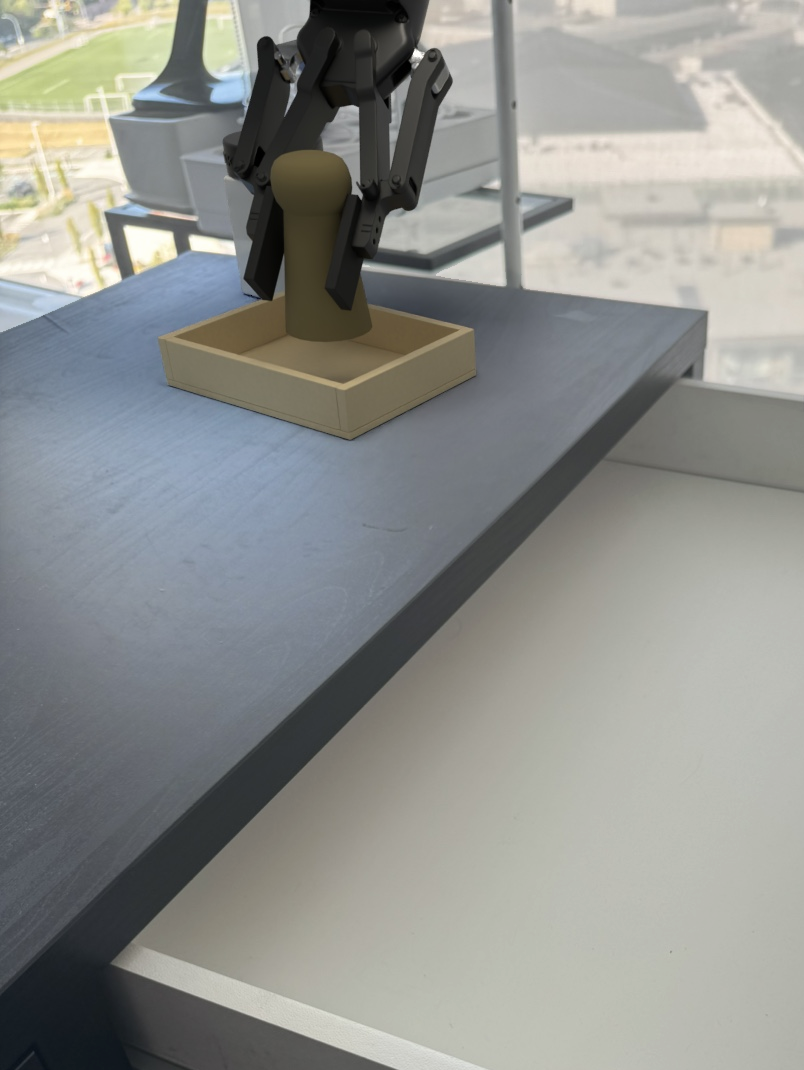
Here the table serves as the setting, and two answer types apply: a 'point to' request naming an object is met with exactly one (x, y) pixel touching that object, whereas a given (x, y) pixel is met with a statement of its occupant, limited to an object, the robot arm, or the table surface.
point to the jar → (244, 212)
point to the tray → (319, 366)
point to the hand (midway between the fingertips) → (297, 294)
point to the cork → (314, 245)
